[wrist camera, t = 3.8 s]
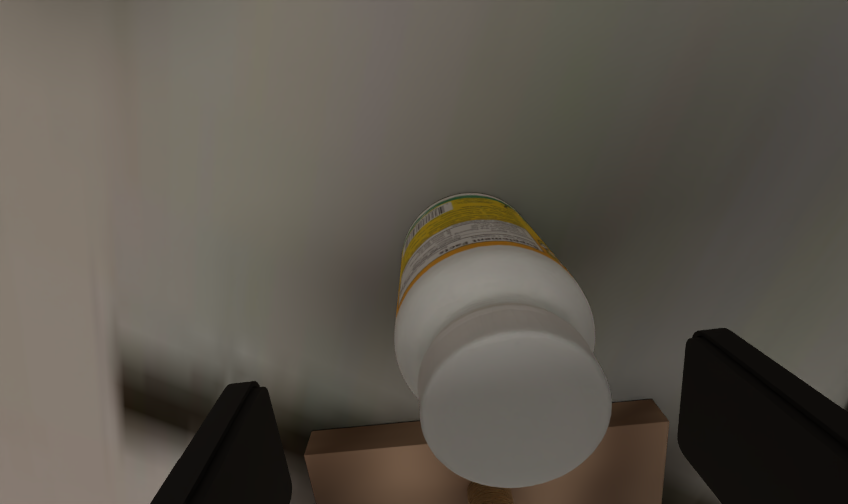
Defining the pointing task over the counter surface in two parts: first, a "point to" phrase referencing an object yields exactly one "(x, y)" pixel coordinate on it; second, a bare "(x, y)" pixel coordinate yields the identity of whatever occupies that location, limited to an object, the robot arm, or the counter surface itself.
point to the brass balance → (465, 500)
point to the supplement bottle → (497, 346)
